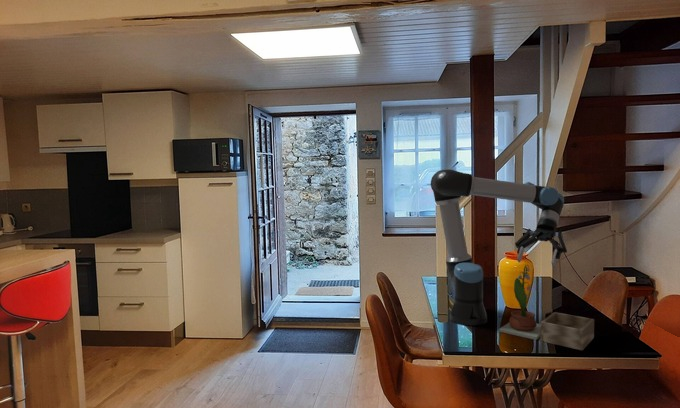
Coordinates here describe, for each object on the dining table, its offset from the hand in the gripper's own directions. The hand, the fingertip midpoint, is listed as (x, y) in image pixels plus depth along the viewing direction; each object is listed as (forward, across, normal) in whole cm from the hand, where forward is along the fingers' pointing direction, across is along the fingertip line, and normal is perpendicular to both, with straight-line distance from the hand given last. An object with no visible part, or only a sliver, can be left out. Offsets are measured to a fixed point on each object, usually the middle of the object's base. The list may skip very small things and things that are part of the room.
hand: (535, 262), depth 180 cm
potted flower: (+25, +1, -10) cm, 27 cm away
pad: (+26, 0, -10) cm, 28 cm away
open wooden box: (+25, -15, -10) cm, 31 cm away
